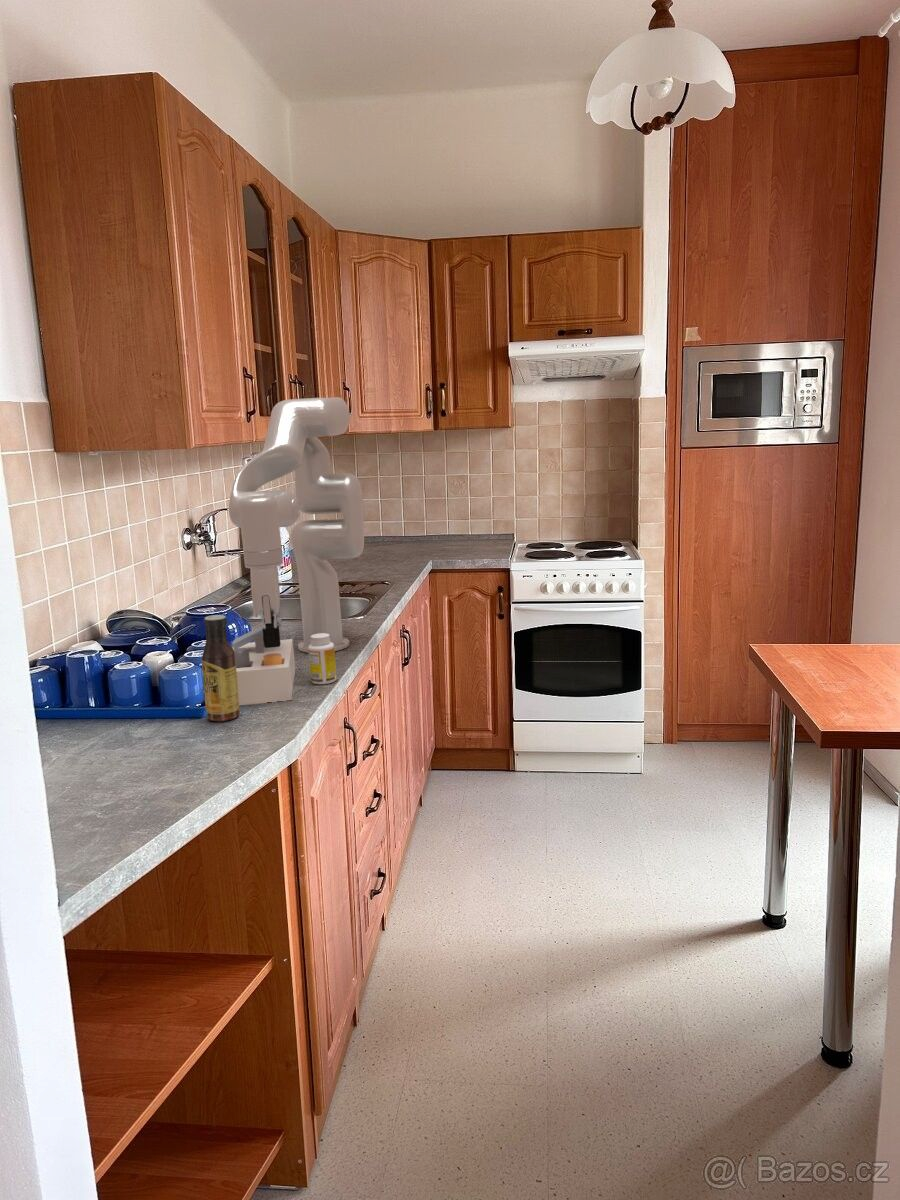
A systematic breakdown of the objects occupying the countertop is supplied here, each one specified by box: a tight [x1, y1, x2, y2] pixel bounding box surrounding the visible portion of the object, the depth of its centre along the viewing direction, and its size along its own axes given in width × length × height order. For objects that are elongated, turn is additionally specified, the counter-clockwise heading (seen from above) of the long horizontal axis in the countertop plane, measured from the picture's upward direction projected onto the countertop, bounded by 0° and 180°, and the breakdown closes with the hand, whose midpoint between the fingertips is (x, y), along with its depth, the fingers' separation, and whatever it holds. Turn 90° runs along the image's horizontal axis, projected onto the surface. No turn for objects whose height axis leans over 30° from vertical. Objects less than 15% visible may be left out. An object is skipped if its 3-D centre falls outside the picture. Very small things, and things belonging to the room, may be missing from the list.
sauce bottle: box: [201, 614, 240, 723], centre depth 168 cm, size 7×6×20 cm
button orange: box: [263, 653, 282, 666], centre depth 181 cm, size 4×4×8 cm
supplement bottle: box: [307, 633, 338, 685], centre depth 189 cm, size 6×6×10 cm
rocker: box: [231, 616, 283, 649], centre depth 192 cm, size 6×11×2 cm, turn 98°
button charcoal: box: [234, 648, 250, 668], centre depth 180 cm, size 4×4×8 cm
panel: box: [232, 636, 296, 706], centre depth 188 cm, size 24×13×10 cm, turn 8°
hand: (272, 646), depth 181 cm, fingers closed
